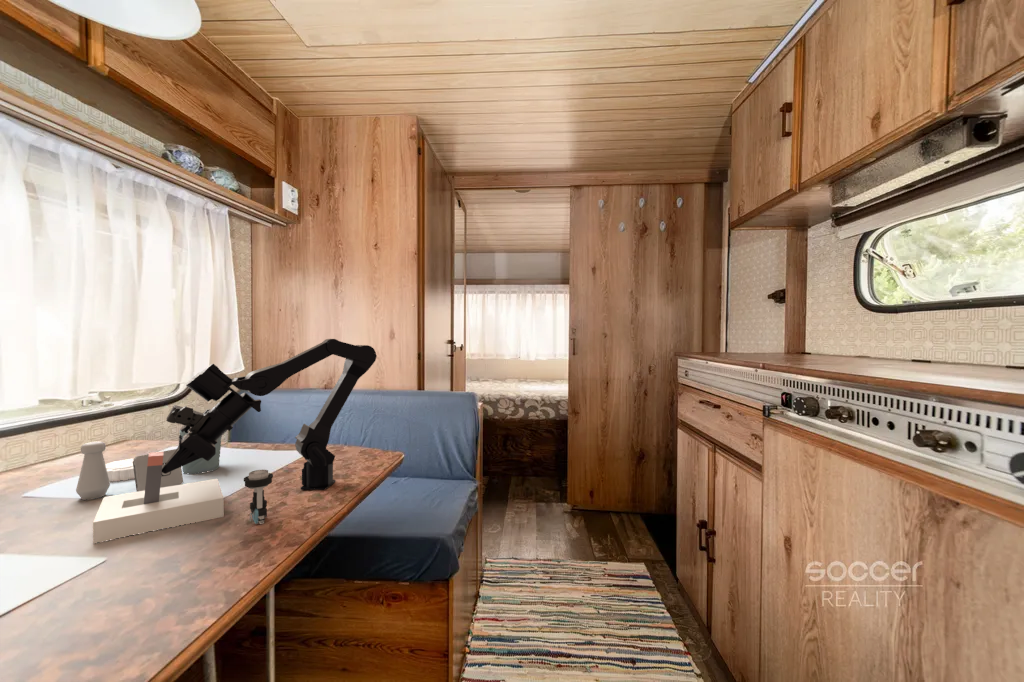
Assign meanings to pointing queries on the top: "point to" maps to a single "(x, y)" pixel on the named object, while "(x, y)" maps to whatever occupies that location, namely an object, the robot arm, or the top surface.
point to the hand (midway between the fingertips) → (163, 472)
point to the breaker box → (158, 510)
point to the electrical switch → (166, 479)
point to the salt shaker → (93, 472)
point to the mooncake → (120, 470)
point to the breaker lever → (153, 477)
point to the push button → (258, 493)
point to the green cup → (203, 461)
